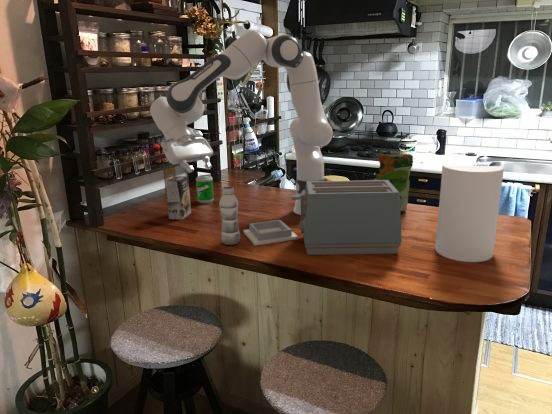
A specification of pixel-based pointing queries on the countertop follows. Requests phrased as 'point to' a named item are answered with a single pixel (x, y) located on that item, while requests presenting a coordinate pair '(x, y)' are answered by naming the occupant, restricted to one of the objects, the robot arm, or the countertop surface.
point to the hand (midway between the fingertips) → (200, 169)
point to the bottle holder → (269, 232)
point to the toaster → (350, 217)
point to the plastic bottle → (229, 217)
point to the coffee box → (178, 197)
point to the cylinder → (468, 212)
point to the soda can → (204, 189)
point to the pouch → (396, 174)
